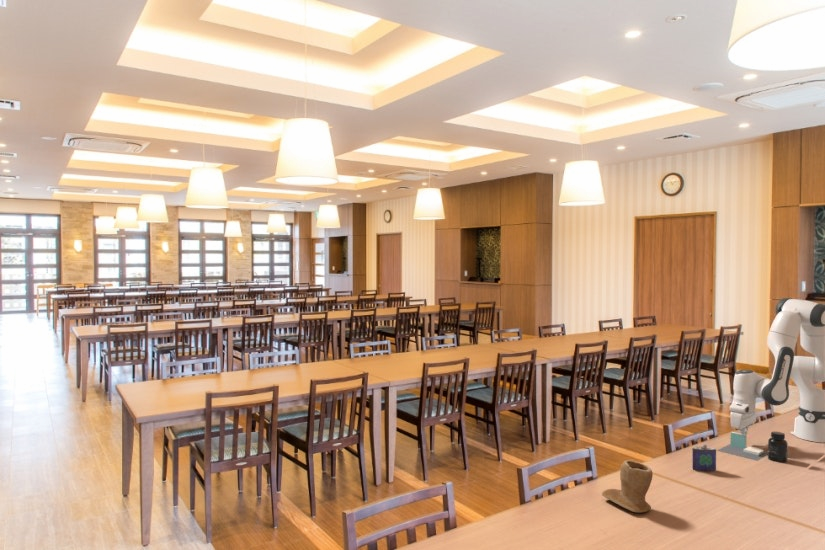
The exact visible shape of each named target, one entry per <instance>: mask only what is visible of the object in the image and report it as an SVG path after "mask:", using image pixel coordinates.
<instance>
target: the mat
mask: <svg viewBox="0 0 825 550" xmlns="http://www.w3.org/2000/svg"><path fill="white" fill-rule="evenodd" d="M747 447H748V446H746V448H747ZM716 452H721V453H723V454H729V455H732V456H736V457H739V458H744V459H749V460H753V461H760V460H761V459H763V458H764V457H766V456H768V450H767V451H766V450H764V454H762V455H760V456H755V455H751V454H747V453H743V448H739V447H735V446H731V443H729V444H727V445H725V446H723V447H721V448H719V449H718V450H717V449H716Z"/></svg>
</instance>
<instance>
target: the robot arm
mask: <svg viewBox="0 0 825 550" xmlns="http://www.w3.org/2000/svg"><path fill="white" fill-rule="evenodd" d="M775 315H776V316H775V318H774V319H773V321H772V323H771V325H770V329H769V330H768V333H767V338H766V345H767V346H766V347H767V348H768V349H769V351H770V352H771V353H772V354H773V357H774V361H775V362H774V367H773V371H772V376H771V378H767V377H765V376H762V375H761V374H758V373H756V372H755V371H754V370H751V369H742V370H741V369H740V370H738V371H736V372H735V373H734V377H733V387H732V388H733V397H732V398H733V399H732V402H731V404H730V405H729V408H728V409H729V411H730V426H731V428H732V429H733V430H734V429H735V430H739V431H740V432H739V433H740V434H744V435H748V430H749V426H750V425H753V424H754V423H756V421H757V409H756V399H759V398H760V399H762V400H763V401H765V402H766V403H768V404H769V405H772V406H775V407H776V406H781V405H783V404H786V402H787V401H788V400H789V396H790V389H789V387H790V386H789V383H790V379H791V380H792V381H793V382H794V384H795V385H796V387H797V389H798V393H799V406H798V415H797V416H796V417H795V418H794V430H791V431H790V434H791V435H793V436H796V437H797V438H799V439H802V440H805V441H808V442H809V441H810V442H815V443H825V390H824V389H823V388H821V387H818V386H817V385H815V384H814V382H813V381H819V382H825V304H823V303H817V302H814V301H811V300H805V299H798V298H797V299H796V298H792V297H783V298H781V299H779V301H778V302H777V303H776V304H775ZM799 335H800V336H799ZM799 337H800V339H799V341H800V343H799V344H800V346H801V348H802V349H803V350H804V351H805V352H808V353H810V354H812V355H813V356H806V355H805V356H803V355H795V348H796V345H797V341H798V338H799Z"/></svg>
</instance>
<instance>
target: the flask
mask: <svg viewBox="0 0 825 550" xmlns="http://www.w3.org/2000/svg"><path fill="white" fill-rule="evenodd" d="M708 446H709V445H708V444H706V443H703V445H702V446H696V447H695V446H694V447H692V451H691V452H692V469H693V470H692V471H694V470H695V471H696V472H703V471H704V472H716V471H717V448H714V447H708ZM695 471H694V472H695Z"/></svg>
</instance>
